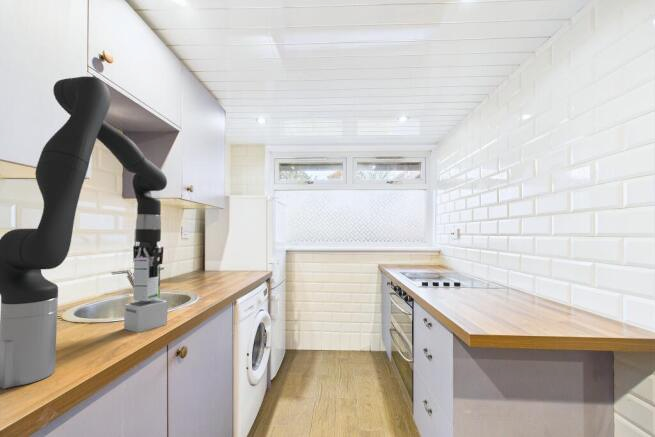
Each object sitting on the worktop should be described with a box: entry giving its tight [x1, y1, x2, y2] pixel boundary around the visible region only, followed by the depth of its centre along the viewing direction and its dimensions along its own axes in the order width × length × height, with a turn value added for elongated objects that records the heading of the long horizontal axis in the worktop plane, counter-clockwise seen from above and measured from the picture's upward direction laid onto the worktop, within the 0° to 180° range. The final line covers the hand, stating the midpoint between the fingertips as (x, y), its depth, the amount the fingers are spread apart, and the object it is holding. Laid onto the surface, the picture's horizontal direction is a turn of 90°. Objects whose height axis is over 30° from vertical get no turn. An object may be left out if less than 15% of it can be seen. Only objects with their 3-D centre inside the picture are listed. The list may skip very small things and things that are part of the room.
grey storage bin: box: [123, 298, 168, 334], centre depth 104 cm, size 10×8×8 cm
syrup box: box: [132, 257, 161, 302], centre depth 105 cm, size 6×6×14 cm
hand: (147, 276), depth 105 cm, fingers closed on syrup box, 6 cm apart
